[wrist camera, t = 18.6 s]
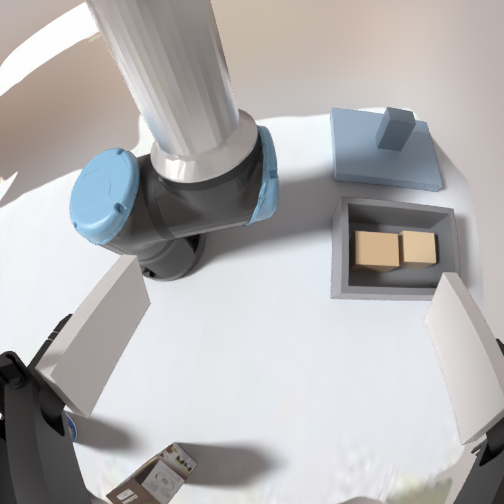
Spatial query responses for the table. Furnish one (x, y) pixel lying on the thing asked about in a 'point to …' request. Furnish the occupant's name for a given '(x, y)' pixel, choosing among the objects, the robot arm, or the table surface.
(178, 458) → the coffee box
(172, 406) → the table surface
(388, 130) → the lid
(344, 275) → the storage box
